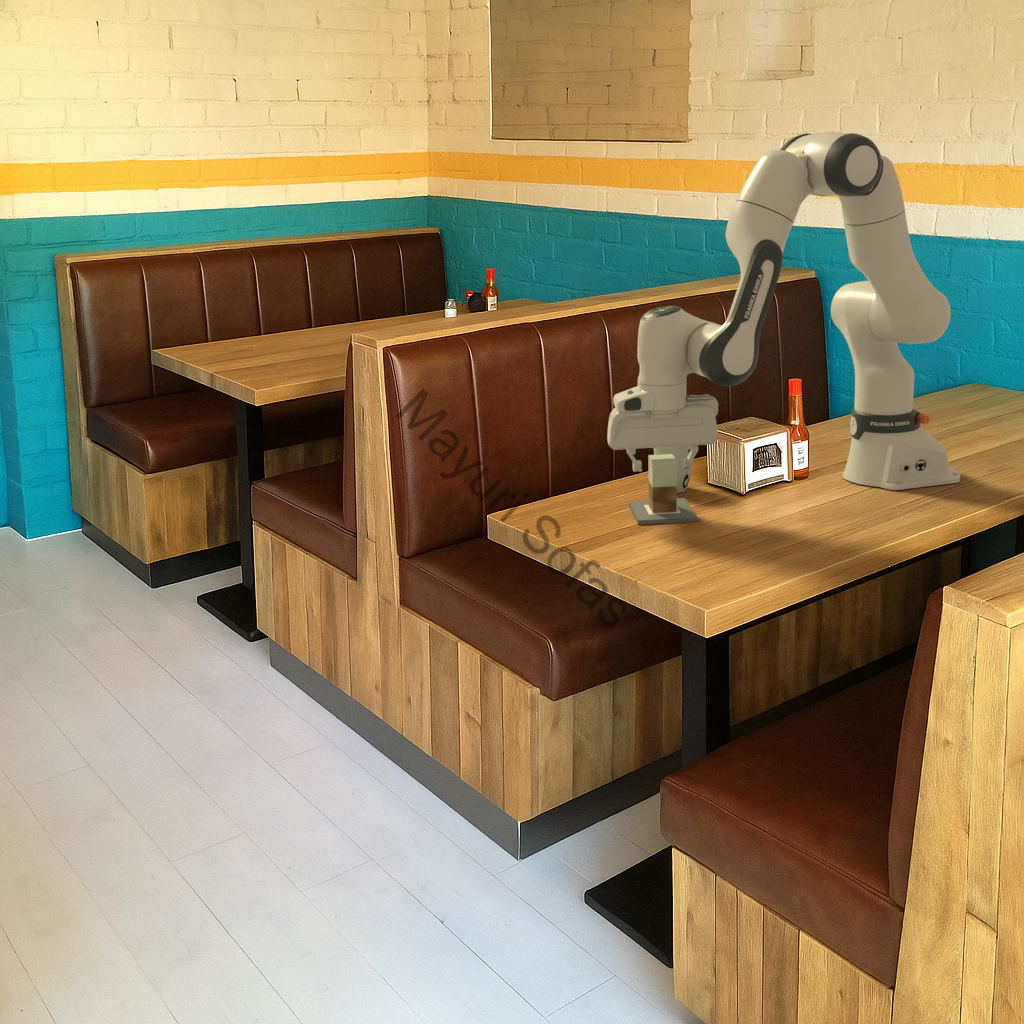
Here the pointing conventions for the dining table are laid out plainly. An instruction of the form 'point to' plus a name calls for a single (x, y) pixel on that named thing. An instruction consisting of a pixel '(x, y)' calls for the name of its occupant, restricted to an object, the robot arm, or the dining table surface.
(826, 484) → the dining table surface
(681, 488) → the cup
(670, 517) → the grey flat square plate
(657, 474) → the sage block
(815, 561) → the dining table surface
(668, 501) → the walnut block
